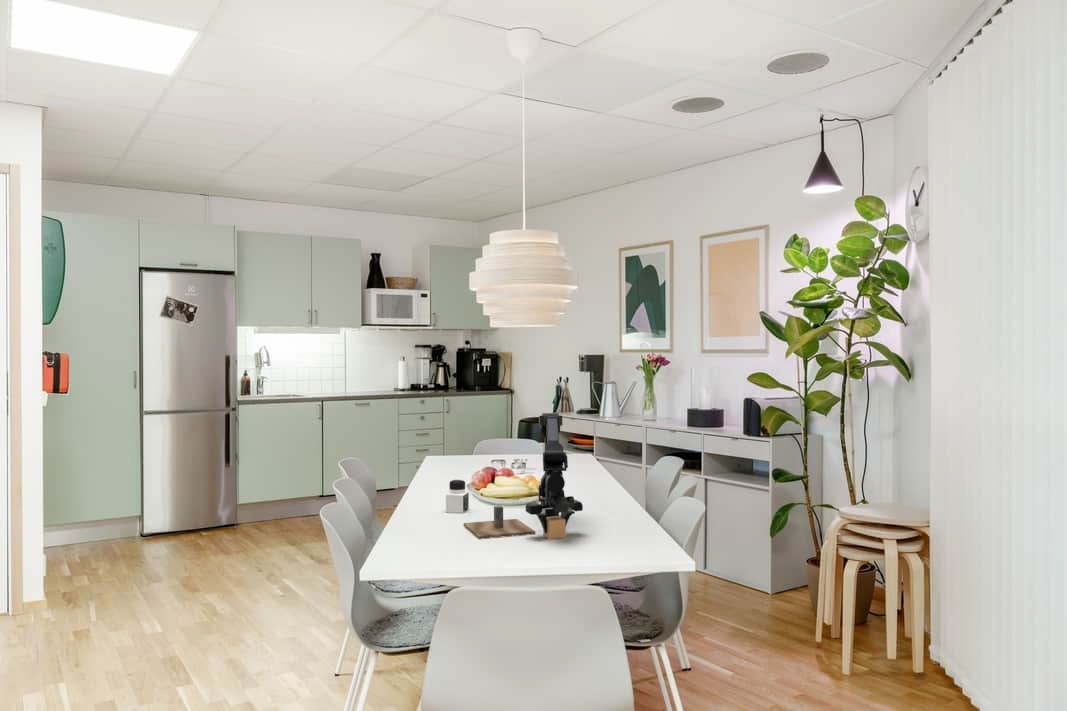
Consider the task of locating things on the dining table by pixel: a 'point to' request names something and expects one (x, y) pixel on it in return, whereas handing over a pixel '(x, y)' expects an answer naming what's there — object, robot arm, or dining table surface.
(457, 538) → the dining table surface
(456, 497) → the medicine bottle
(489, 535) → the wooden base with peg
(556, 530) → the peach wooden cube
